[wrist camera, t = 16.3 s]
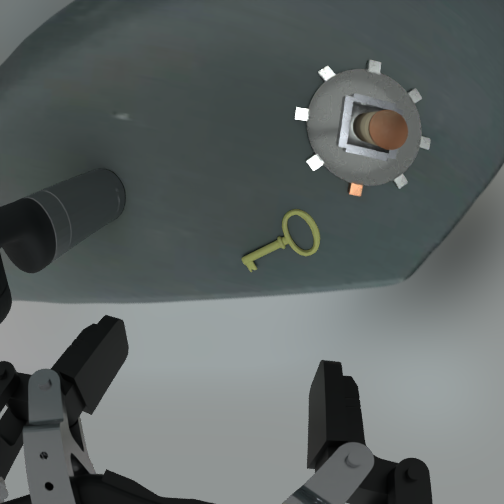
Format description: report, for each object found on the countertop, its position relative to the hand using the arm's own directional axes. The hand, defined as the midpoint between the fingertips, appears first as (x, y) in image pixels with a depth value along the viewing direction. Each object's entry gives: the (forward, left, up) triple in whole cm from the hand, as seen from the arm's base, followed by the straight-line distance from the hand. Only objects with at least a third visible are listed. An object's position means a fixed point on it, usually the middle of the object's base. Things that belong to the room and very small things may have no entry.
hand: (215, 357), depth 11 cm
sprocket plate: (+11, +10, -33) cm, 36 cm away
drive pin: (+11, +10, -32) cm, 35 cm away
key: (+2, -9, -34) cm, 35 cm away
